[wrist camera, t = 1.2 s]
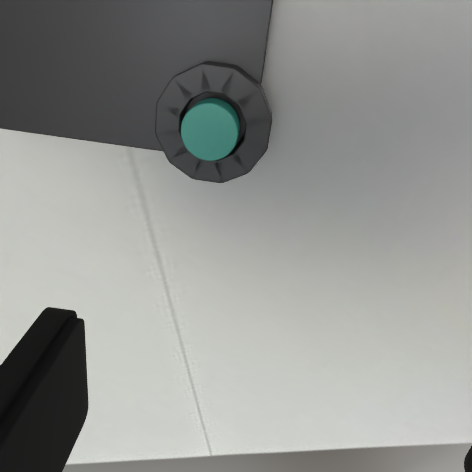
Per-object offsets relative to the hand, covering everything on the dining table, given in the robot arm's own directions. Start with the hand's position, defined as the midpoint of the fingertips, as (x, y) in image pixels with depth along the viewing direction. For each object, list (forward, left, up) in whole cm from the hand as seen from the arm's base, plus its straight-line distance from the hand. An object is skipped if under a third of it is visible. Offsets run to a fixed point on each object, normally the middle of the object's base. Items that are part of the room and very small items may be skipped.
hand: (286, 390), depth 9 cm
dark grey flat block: (+9, -7, -17) cm, 20 cm away
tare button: (+4, -3, -13) cm, 14 cm away
